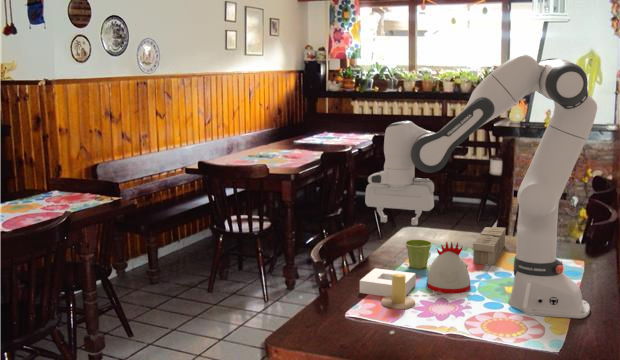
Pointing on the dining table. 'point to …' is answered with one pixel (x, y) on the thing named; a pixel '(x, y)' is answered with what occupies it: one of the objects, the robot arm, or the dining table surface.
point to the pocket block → (384, 282)
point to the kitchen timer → (448, 272)
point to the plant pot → (418, 253)
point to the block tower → (489, 245)
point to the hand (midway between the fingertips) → (399, 223)
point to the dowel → (398, 288)
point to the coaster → (408, 304)
